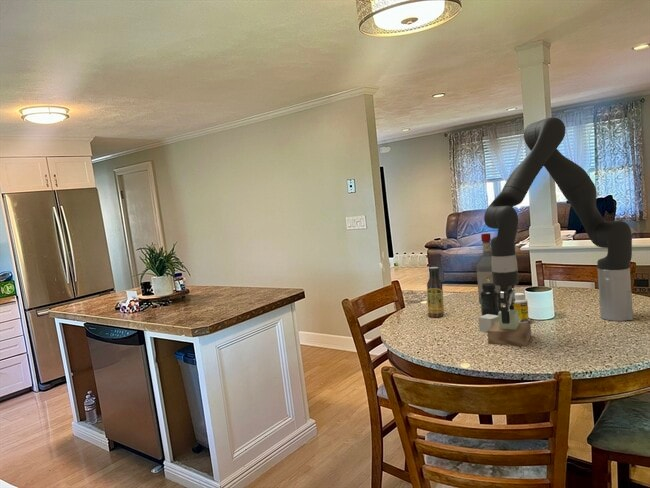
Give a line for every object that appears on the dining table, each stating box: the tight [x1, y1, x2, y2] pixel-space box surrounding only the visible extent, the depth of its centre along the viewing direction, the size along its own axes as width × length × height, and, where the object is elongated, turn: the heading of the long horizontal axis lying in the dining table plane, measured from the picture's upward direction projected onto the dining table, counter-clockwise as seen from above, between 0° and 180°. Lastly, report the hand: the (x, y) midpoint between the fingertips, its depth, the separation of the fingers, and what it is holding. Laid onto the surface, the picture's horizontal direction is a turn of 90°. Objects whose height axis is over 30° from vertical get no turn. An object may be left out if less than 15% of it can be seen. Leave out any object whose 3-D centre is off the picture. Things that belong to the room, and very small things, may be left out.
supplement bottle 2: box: [514, 292, 530, 323], centre depth 159 cm, size 6×6×10 cm
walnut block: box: [486, 322, 532, 346], centre depth 142 cm, size 11×11×4 cm
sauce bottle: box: [426, 266, 445, 318], centre depth 179 cm, size 7×6×20 cm
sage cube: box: [498, 310, 519, 329], centre depth 141 cm, size 5×5×5 cm
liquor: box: [476, 232, 500, 305], centre depth 191 cm, size 9×9×30 cm
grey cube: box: [477, 314, 499, 333], centre depth 153 cm, size 5×5×5 cm
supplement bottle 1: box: [480, 283, 500, 316], centre depth 173 cm, size 7×7×12 cm
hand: (508, 319), depth 141 cm, fingers open, 8 cm apart
